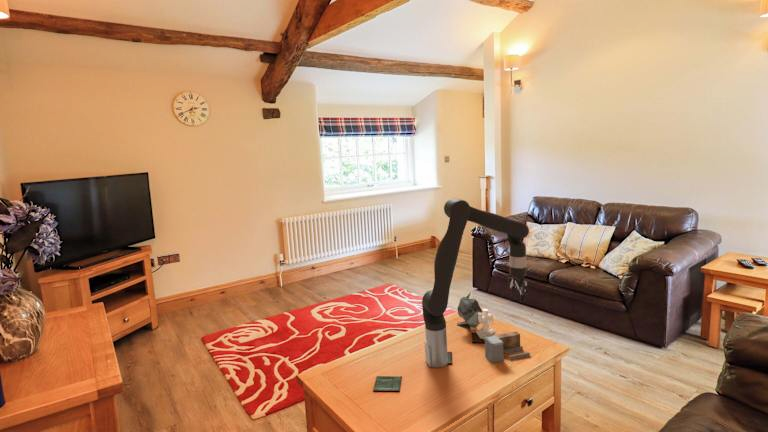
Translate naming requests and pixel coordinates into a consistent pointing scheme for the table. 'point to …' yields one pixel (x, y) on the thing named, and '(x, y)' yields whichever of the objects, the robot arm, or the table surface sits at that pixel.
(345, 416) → the table surface
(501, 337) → the walnut slat
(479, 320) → the figurine
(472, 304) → the narwhal figurine
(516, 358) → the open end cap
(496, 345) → the socket end cap
